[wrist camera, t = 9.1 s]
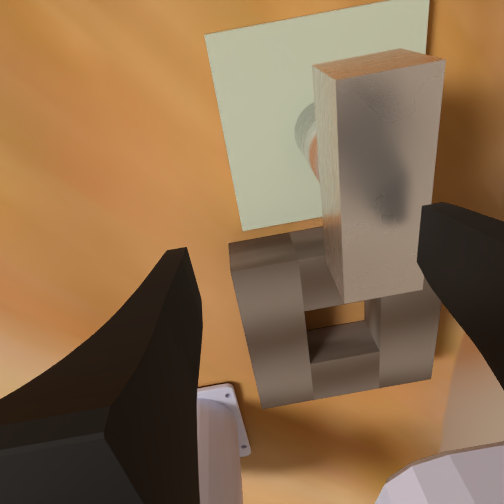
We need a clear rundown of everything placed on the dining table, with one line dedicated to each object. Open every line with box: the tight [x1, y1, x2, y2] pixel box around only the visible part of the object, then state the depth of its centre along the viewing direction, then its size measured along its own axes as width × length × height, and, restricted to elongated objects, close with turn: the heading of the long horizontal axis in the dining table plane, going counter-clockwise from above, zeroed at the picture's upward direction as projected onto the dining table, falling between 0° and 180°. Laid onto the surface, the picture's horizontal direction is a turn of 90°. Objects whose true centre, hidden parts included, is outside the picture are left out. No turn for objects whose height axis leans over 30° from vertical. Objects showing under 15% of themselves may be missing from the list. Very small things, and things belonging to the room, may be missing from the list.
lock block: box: [229, 226, 442, 409], centre depth 26 cm, size 12×12×3 cm
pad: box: [204, 0, 429, 231], centre depth 20 cm, size 10×10×1 cm
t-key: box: [294, 48, 446, 304], centre depth 16 cm, size 3×8×8 cm, turn 9°
